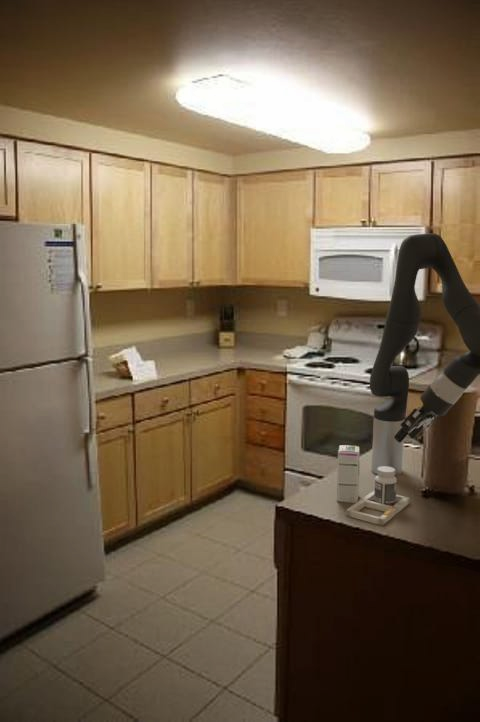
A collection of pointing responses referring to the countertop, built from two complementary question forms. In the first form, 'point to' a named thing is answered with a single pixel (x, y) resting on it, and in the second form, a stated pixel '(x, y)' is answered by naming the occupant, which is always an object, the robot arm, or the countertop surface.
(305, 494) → the countertop surface
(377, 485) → the pill bottle
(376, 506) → the plate
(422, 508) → the countertop surface
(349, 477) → the syrup box
